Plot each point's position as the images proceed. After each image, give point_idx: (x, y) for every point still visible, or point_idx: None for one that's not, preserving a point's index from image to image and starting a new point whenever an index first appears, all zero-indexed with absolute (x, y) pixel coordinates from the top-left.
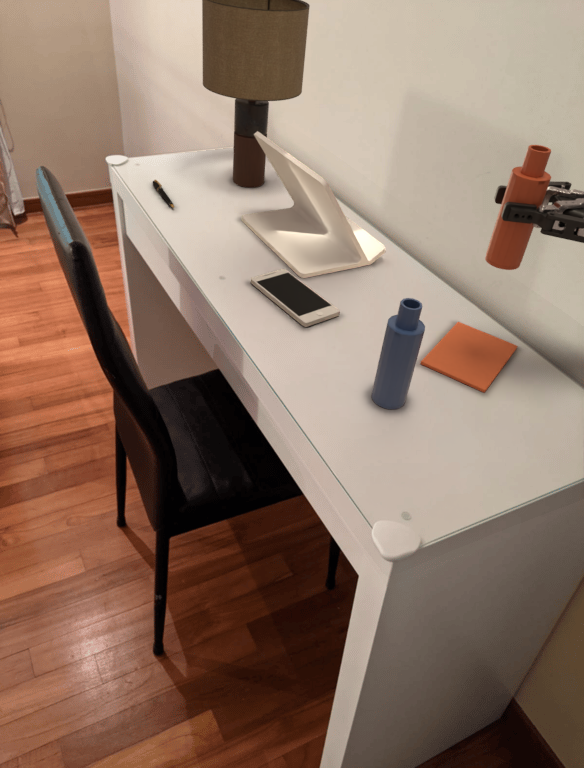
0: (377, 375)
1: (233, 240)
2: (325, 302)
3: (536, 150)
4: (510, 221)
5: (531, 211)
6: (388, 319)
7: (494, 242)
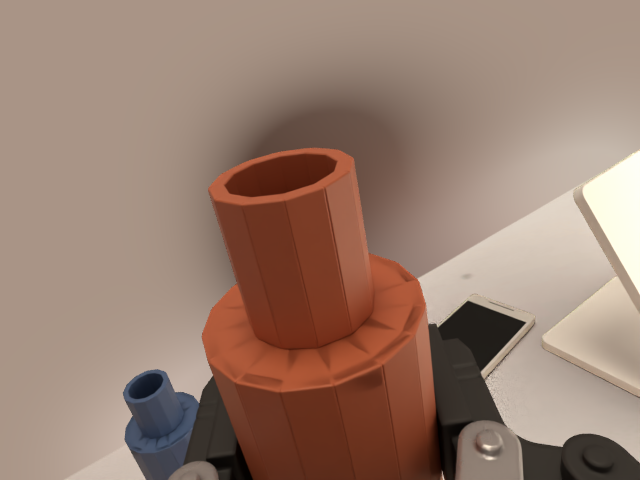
0: None
1: (584, 255)
2: None
3: (233, 169)
4: None
5: (192, 449)
6: (181, 392)
7: None
